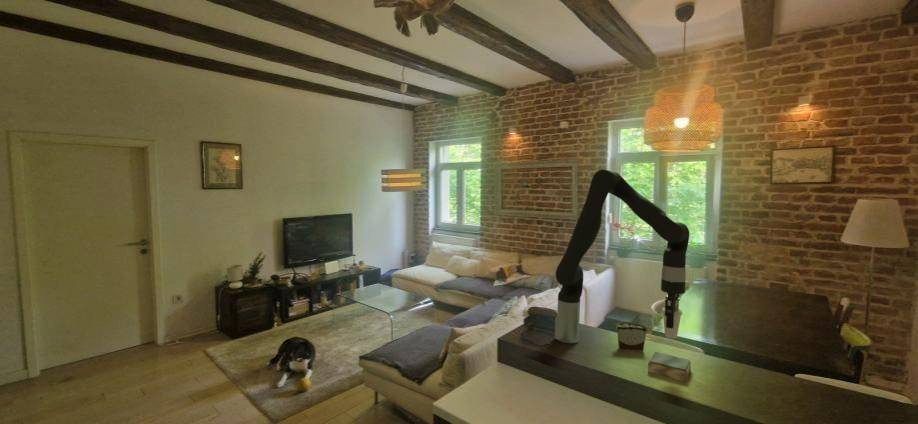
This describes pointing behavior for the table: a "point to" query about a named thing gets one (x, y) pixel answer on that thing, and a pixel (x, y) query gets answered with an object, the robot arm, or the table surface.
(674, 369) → the oak plinth
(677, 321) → the smoothie
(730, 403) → the table surface
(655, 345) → the table surface
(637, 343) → the food container
